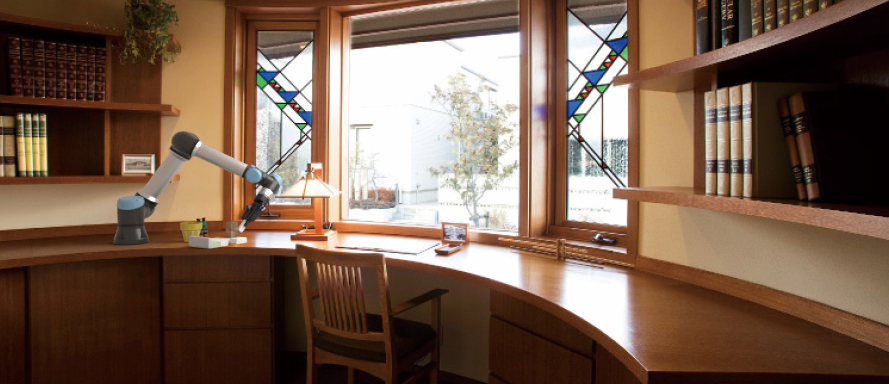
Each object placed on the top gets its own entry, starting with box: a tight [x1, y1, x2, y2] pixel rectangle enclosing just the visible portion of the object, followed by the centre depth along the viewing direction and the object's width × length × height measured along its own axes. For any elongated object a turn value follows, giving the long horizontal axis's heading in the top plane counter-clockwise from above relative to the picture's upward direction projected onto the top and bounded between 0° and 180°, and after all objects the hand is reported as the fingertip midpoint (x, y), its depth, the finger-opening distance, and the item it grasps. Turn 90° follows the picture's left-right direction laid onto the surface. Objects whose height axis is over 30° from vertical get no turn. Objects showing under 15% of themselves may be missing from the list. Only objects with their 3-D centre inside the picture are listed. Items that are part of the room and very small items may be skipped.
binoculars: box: [196, 217, 209, 237], centre depth 280 cm, size 9×11×10 cm
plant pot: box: [179, 221, 202, 243], centre depth 262 cm, size 10×10×10 cm
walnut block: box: [225, 221, 239, 238], centre depth 260 cm, size 4×4×8 cm
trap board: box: [188, 236, 248, 249], centre depth 253 cm, size 23×14×5 cm, turn 154°
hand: (239, 230), depth 264 cm, fingers closed
